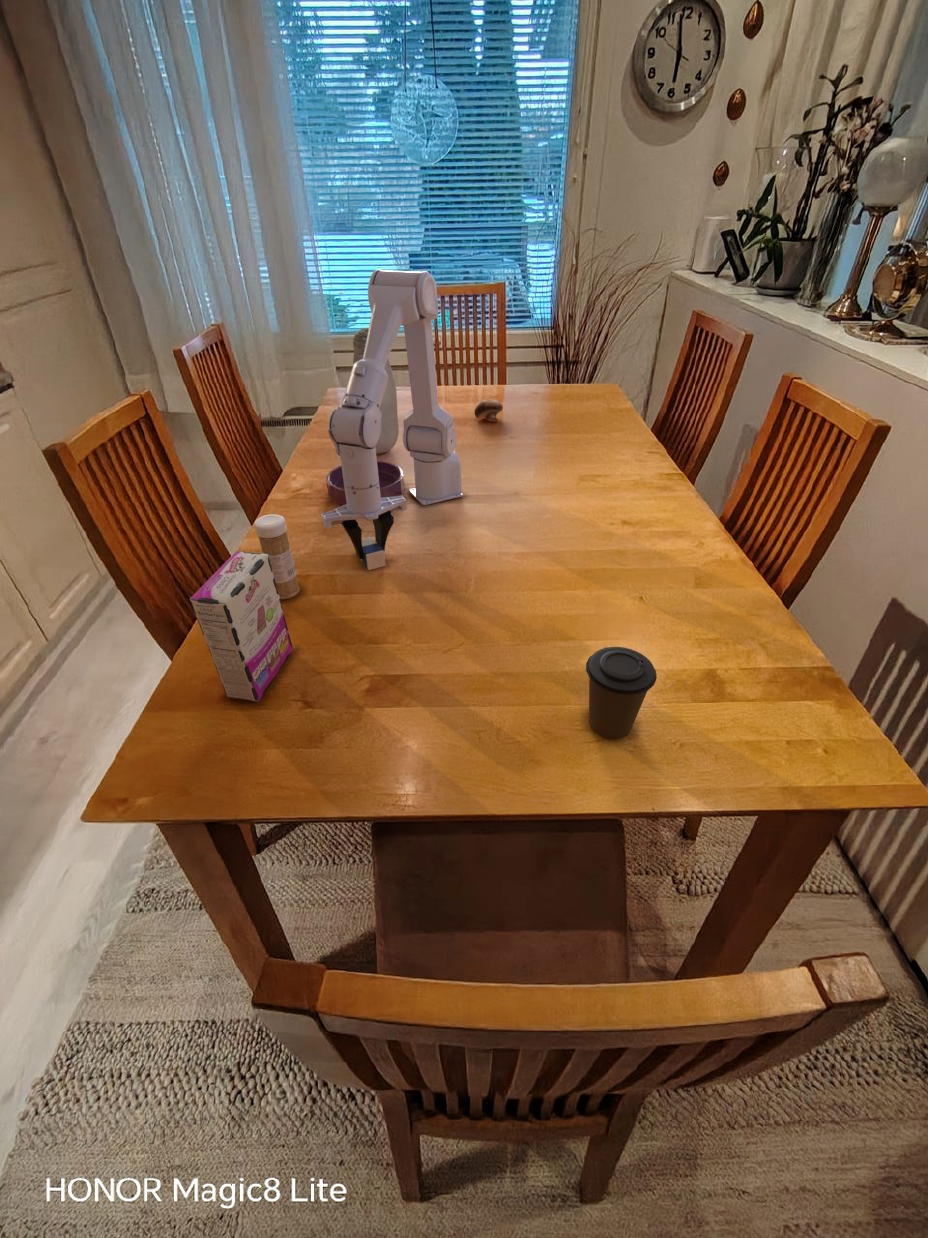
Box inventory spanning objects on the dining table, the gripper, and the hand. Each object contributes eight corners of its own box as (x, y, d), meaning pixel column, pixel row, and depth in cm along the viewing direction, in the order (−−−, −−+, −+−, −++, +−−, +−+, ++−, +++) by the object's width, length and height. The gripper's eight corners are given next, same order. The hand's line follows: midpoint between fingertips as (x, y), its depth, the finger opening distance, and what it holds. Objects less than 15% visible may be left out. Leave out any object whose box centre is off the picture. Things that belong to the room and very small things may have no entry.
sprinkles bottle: (286, 582, 100) (270, 510, 92) (306, 590, 98) (291, 517, 90) (266, 595, 97) (247, 522, 89) (285, 603, 95) (268, 529, 87)
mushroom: (504, 414, 158) (496, 391, 157) (476, 425, 160) (469, 403, 159) (508, 420, 166) (501, 398, 165) (482, 430, 168) (474, 409, 167)
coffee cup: (657, 728, 73) (673, 668, 67) (611, 758, 69) (624, 697, 63) (608, 690, 78) (620, 632, 72) (564, 717, 75) (572, 657, 69)
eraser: (356, 555, 107) (354, 540, 105) (374, 550, 108) (372, 535, 106) (368, 570, 103) (366, 555, 101) (386, 565, 104) (384, 550, 102)
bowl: (388, 472, 136) (386, 455, 134) (416, 499, 125) (415, 481, 123) (319, 486, 131) (317, 469, 128) (342, 516, 119) (340, 497, 117)
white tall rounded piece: (383, 462, 141) (371, 335, 124) (351, 453, 145) (335, 330, 129) (408, 448, 148) (399, 326, 131) (376, 441, 152) (364, 322, 135)
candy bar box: (262, 645, 87) (235, 549, 77) (294, 650, 86) (271, 552, 76) (223, 699, 78) (186, 597, 68) (258, 704, 77) (226, 602, 67)
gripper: (325, 500, 91) (337, 574, 99) (411, 482, 96) (416, 553, 104) (312, 484, 96) (325, 555, 104) (395, 466, 101) (401, 536, 109)
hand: (370, 553), depth 104 cm, fingers closed on eraser, 3 cm apart
